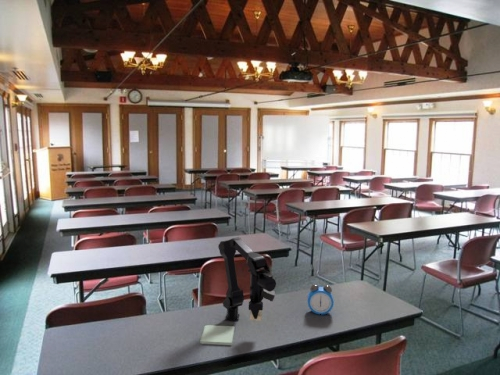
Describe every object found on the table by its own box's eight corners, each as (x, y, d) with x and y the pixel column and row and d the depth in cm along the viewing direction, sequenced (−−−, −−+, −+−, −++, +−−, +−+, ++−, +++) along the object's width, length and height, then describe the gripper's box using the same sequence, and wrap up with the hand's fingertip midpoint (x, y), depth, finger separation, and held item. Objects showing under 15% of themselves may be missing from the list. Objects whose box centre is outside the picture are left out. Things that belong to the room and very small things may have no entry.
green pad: (205, 327, 182) (205, 325, 182) (234, 328, 182) (234, 326, 181) (200, 343, 168) (200, 341, 168) (231, 345, 168) (231, 342, 168)
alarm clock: (307, 314, 198) (308, 286, 196) (307, 308, 204) (308, 282, 202) (332, 316, 197) (334, 288, 194) (331, 310, 203) (333, 283, 200)
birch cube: (250, 315, 179) (250, 305, 178) (261, 315, 178) (261, 305, 178) (250, 320, 174) (250, 310, 173) (261, 321, 173) (261, 310, 173)
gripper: (274, 292, 164) (273, 327, 166) (274, 276, 182) (273, 307, 185) (248, 291, 164) (248, 325, 167) (250, 275, 183) (250, 306, 185)
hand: (255, 315), depth 176 cm, fingers closed on birch cube, 5 cm apart
